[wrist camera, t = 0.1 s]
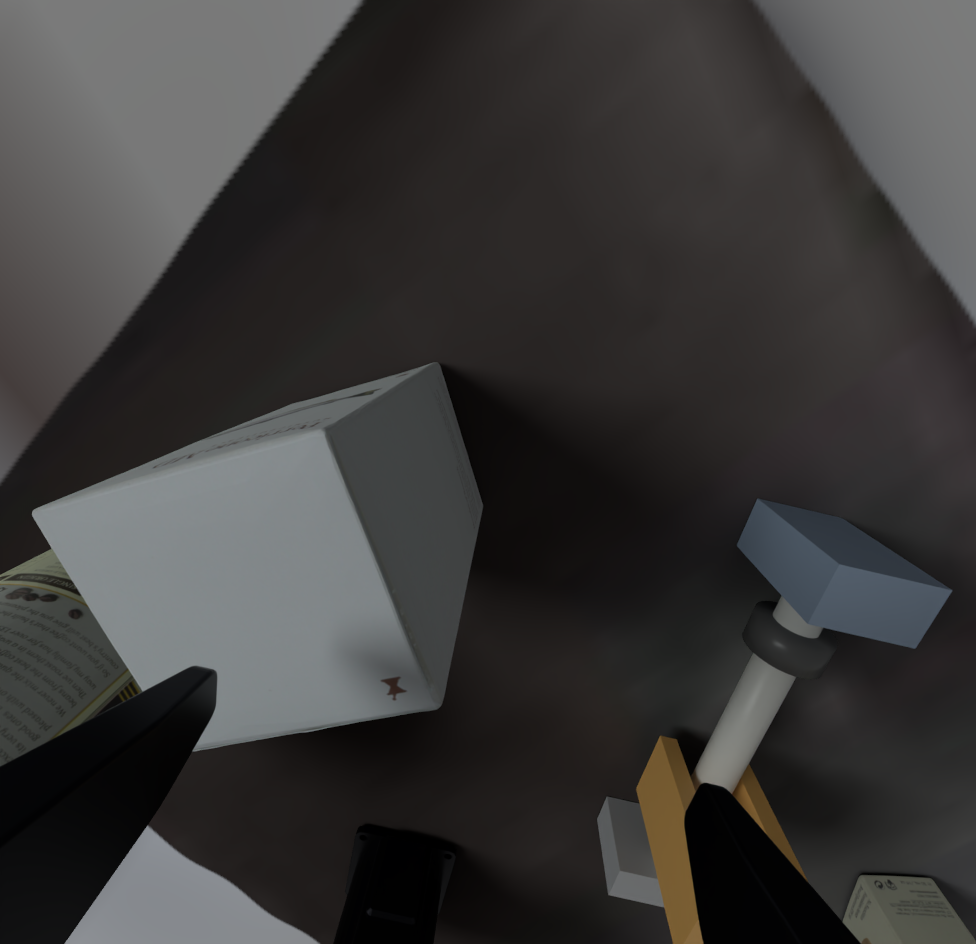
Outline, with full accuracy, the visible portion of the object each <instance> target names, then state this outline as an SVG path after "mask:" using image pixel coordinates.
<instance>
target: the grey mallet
mask: <svg viewBox="0 0 976 944" xmlns="http://www.w3.org/2000/svg"><path fill="white" fill-rule="evenodd" d="M737 547H738V548H739V549H740V550H741V551H742V552H743V553H744V554H745V556H746V557H747V558H748V559H749V560H750V561H751V562H752V563H753V564H754V566H755V567H756V568H757V569H758V570H759V571H760V572H761V573H762V574H763V575H764V577H765V578H766V579H767V580H768V581H769V582H770V583H771V584H772V585H773V587H774V588H775V589H776V590H777V591H778V592H779V593H780V594H781V595H782V596H781V598H780V600H779V602H778V603H777V602H772V601H761V602H758V603H757V604H756V606H755V608H754V610H753V612H752V614H751V616H750V618H749V620H748V623H747V625H746V627H745V629H744V631H743V633H742V636H743V640H744V642H745V643H746V645H747V646H748V647H749V649H750V650H751V651H752V652H753V654H752V656H751V658H750V660H749V662H748V664H747V666H746V668H745V670H744V672H743V674H742V676H741V678H740V680H739V682H738V684H737V686H736V688H735V690H734V692H733V694H732V696H731V698H730V700H729V702H728V704H727V706H726V708H725V710H724V712H723V714H722V716H721V718H720V720H719V722H718V724H717V726H716V728H715V730H714V732H713V734H712V736H711V738H710V740H709V742H708V744H707V746H706V748H705V750H704V752H703V754H702V756H701V758H700V760H699V762H698V764H697V766H696V768H695V770H694V772H693V774H692V776H691V780H692V783H693V786H694V789H695V791H697V789H698V787H699V785H701V784H702V783H710V784H714V785H718V786H722V787H724V788H726V789H727V790H728V791H729V792H730V793H731V794H732V793H733V791H734V790H735V788H736V786H737V784H738V782H739V780H740V779H741V777H742V775H743V773H744V771H745V770H746V768H747V766H748V764H749V762H750V760H751V759H752V757H753V755H754V753H755V751H756V750H757V748H758V746H759V744H760V742H761V740H762V739H763V737H764V735H765V733H766V731H767V730H768V728H769V726H770V724H771V722H772V720H773V719H774V717H775V715H776V713H777V711H778V710H779V708H780V706H781V704H782V702H783V700H784V699H785V697H786V695H787V693H788V691H789V690H790V688H791V686H792V684H793V682H794V680H795V679H796V677H798V678H802V679H809V680H812V679H817V678H819V677H821V675H822V673H823V672H824V670H825V668H826V666H827V665H828V663H829V661H830V659H831V658H832V656H833V654H834V652H835V651H836V649H837V647H838V641H837V639H836V637H835V636H834V635H833V634H832V632H831V631H830V630H829V629H831V630H836V631H840V632H844V633H849V634H853V635H857V636H862V637H866V638H871V639H875V640H879V641H884V642H888V643H892V644H897V645H901V646H905V647H910V648H914V649H915V648H916V647H917V645H918V644H919V642H920V641H921V639H922V638H923V636H924V634H925V633H926V631H927V630H928V628H929V627H930V625H931V623H932V622H933V620H934V619H935V617H936V616H937V614H938V613H939V611H940V609H941V608H942V606H943V605H944V603H945V602H946V600H947V598H948V597H949V595H950V594H951V592H952V591H953V590H951V589H950V588H948V587H946V586H945V585H943V584H942V583H940V582H939V581H937V580H936V579H934V578H933V577H931V576H930V575H928V574H927V573H925V572H924V571H922V570H921V569H919V568H917V567H916V566H914V565H913V564H911V563H910V562H908V561H907V560H905V559H904V558H902V557H901V556H899V555H898V554H896V553H895V552H893V551H892V550H890V549H888V548H887V547H885V546H884V545H882V544H881V543H879V542H878V541H876V540H875V539H873V538H872V537H870V536H869V535H867V534H866V533H864V532H863V531H861V530H859V529H858V528H856V527H855V526H853V525H852V524H850V523H849V522H847V521H846V520H844V519H843V518H840V517H836V516H831V515H827V514H823V513H818V512H814V511H810V510H806V509H801V508H797V507H793V506H788V505H784V504H780V503H775V502H771V501H767V500H762V499H758V498H757V501H756V503H755V505H754V507H753V510H752V512H751V514H750V516H749V519H748V521H747V523H746V525H745V528H744V530H743V532H742V534H741V537H740V539H739V541H738V543H737ZM597 821H598V828H599V834H600V841H601V848H602V855H603V861H604V868H605V875H606V882H607V888H608V895H611V896H615V897H620V898H624V899H629V900H633V901H638V902H642V903H647V904H651V905H656V906H660V907H664V903H663V899H662V894H661V890H660V886H659V882H658V878H657V874H656V869H655V865H654V861H653V857H652V853H651V848H650V844H649V840H648V836H647V832H646V828H645V823H644V819H643V815H642V811H641V807H640V804H639V803H634V802H630V801H625V800H621V799H616V798H612V797H606V800H605V802H604V804H603V807H602V809H601V811H600V814H599V816H598V819H597Z"/></svg>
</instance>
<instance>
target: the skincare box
mask: <svg viewBox="0 0 976 944" xmlns="http://www.w3.org/2000/svg"><path fill="white" fill-rule="evenodd" d="M843 923H844V924H845V926H846V927H847V928H848V929H849V930H850V931H851V932H852V934H853V935H854V936H855V937H856V938H857V939H858V941H859V942H860V943H861V944H976V940H975V939H974V937H973V936H972V935H971V933H970V932H969V930H968V929H967V928H966V926H965V925H964V923H963V922H962V920H961V919H960V918H959V916H958V915H957V913H956V912H955V910H954V909H953V908H952V906H951V905H950V903H949V902H948V901H947V899H946V898H945V896H944V895H943V893H942V892H941V891H940V889H939V888H938V886H937V885H936V884H935V882H934V881H933V880H932V879H931V878H924V877H906V876H883V875H861V876H859V878H858V880H857V883H856V886H855V888H854V891H853V893H852V896H851V898H850V901H849V904H848V907H847V910H846V913H845V916H844V919H843Z"/></svg>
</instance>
